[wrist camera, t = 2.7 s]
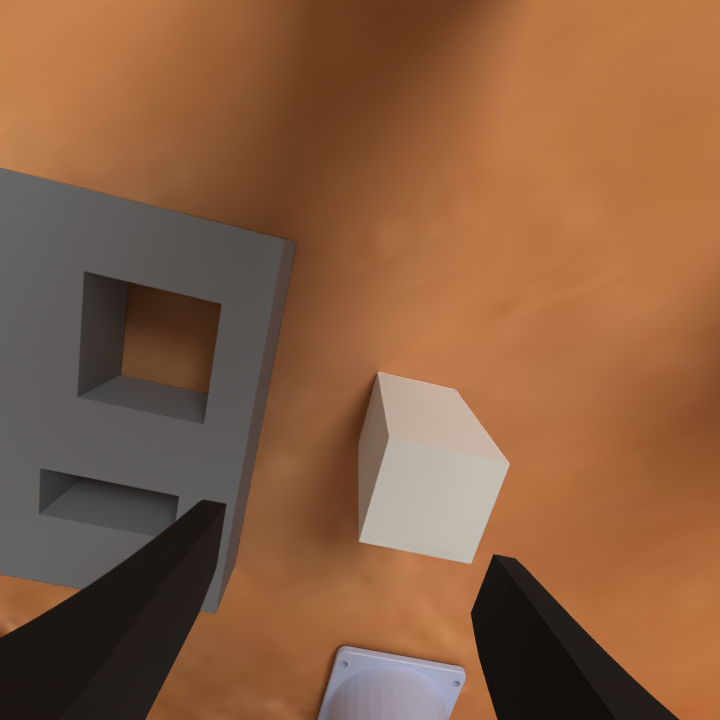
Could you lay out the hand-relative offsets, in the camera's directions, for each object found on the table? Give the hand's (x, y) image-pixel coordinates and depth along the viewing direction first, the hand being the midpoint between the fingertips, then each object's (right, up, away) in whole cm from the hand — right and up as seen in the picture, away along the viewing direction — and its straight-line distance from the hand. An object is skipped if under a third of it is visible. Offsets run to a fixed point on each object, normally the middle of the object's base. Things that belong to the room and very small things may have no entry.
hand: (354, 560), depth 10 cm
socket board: (-10, +3, +9) cm, 14 cm away
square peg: (+3, +2, +9) cm, 10 cm away
